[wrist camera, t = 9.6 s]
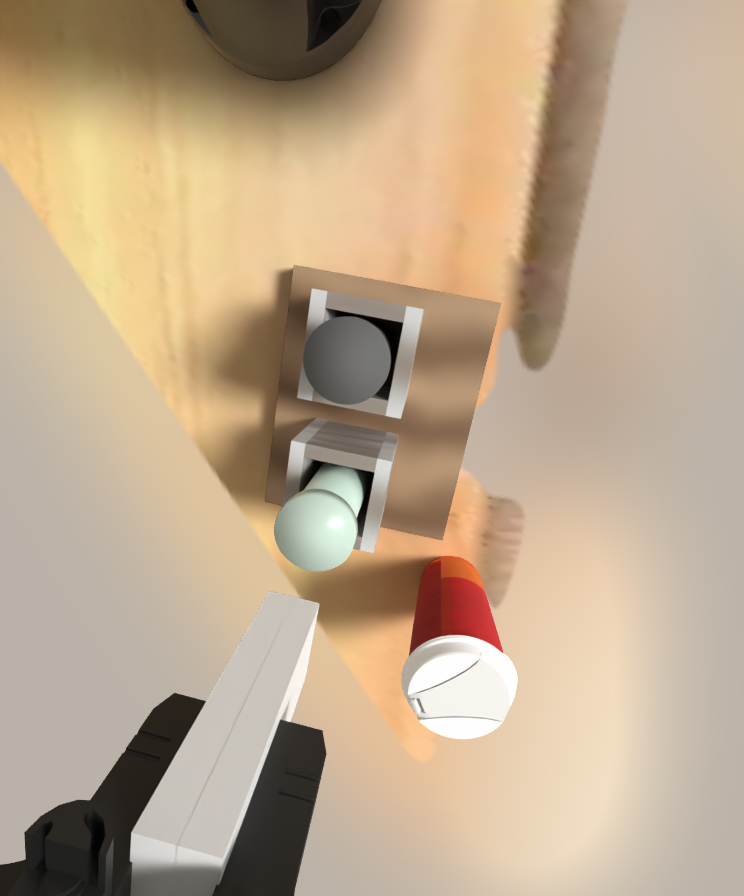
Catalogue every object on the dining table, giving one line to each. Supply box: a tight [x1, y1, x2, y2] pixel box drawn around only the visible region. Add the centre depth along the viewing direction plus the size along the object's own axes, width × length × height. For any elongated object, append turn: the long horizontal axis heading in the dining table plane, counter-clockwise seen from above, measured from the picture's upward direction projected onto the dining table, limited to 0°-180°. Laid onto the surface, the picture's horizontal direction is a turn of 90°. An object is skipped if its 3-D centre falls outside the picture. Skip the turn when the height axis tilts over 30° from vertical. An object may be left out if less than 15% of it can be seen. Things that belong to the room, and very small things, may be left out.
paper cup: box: [401, 556, 518, 739], centre depth 38 cm, size 8×8×14 cm
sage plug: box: [274, 462, 371, 571], centre depth 33 cm, size 5×5×11 cm
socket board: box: [265, 265, 501, 553], centre depth 36 cm, size 20×16×10 cm
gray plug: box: [303, 316, 396, 405], centre depth 31 cm, size 5×5×11 cm
